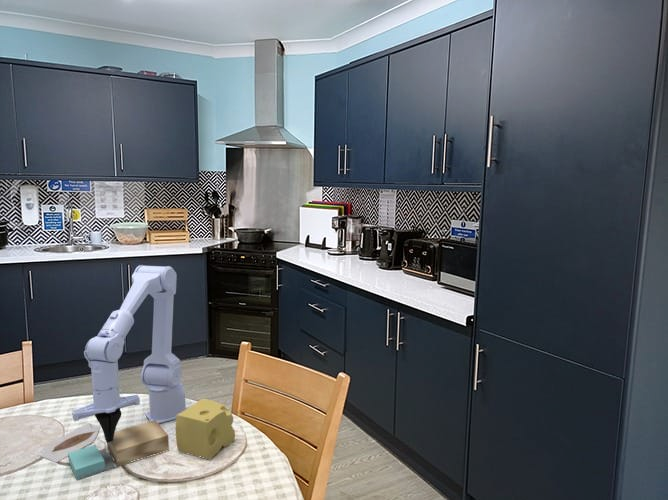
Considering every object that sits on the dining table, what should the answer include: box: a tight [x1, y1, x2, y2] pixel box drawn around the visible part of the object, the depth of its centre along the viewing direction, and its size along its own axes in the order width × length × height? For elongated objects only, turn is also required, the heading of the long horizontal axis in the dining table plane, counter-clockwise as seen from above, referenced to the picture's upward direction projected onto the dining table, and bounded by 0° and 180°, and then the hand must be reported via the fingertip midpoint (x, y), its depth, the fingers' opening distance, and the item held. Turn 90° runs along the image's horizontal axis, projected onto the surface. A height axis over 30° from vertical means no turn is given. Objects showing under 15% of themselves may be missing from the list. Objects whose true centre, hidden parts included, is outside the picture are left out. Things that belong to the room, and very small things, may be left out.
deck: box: [106, 420, 170, 468], centre depth 119 cm, size 12×10×4 cm
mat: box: [76, 448, 116, 481], centre depth 113 cm, size 8×10×1 cm
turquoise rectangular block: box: [67, 444, 105, 479], centre depth 112 cm, size 6×9×2 cm, turn 38°
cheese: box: [175, 398, 236, 460], centre depth 120 cm, size 10×11×10 cm
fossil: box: [37, 422, 101, 464], centre depth 123 cm, size 16×1×10 cm
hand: (109, 440), depth 115 cm, fingers closed
